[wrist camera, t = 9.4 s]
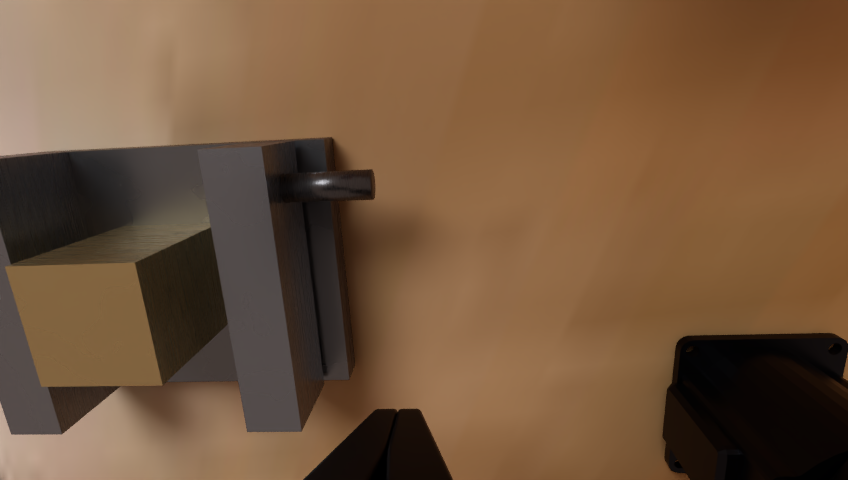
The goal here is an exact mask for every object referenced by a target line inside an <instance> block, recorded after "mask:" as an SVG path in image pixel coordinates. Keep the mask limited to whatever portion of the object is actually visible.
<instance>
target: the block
mask: <svg viewBox="0 0 848 480" xmlns="http://www.w3.org/2000/svg"><path fill="white" fill-rule="evenodd" d="M5 269H6V272H7V275H8V279H9V282H10V285H11V289H12V292H13V295H14V298H15V302H16V305H17V308H18V312H19V315H20V318H21V322H22V325H23V328H24V331H25V335H26V338H27V341H28V345H29V348H30V351H31V354H32V358H33V361H34V364H35V368H36V371H37V374H38V378H39V381H40V384H41V387H71V386H163V385H164V384H165V383H166V382H167V381H168V380H169V379H170V378H171V377H172V376H173V375H174V374H175V373H176V372H178V371H179V370H180V369H181V368H182V367H183V366H184V365H185V364H186V363H187V362H188V361H189V360H190V359H191V358H192V357H194V356H195V355H196V354H197V353H198V352H199V351H200V350H201V349H202V348H203V347H204V346H205V345H206V344H207V343H208V342H210V341H211V340H212V339H213V338H214V337H215V336H216V335H217V334H218V333H219V332H220V331H221V330H222V329H223V328H224V327H226V326H227V325H228V321H227V315H226V309H225V304H224V298H223V292H222V287H221V281H220V276H219V270H218V264H217V259H216V253H215V247H214V242H213V236H212V231H211V225H210V223H201V224H173V225H145V226H122V227H119V228H116V229H113V230H110V231H107V232H105V233H102V234H99V235H96V236H93V237H90V238H87V239H84V240H81V241H78V242H75V243H72V244H69V245H67V246H64V247H61V248H58V249H55V250H52V251H49V252H46V253H43V254H40V255H37V256H34V257H31V258H28V259H26V260H23V261H20V262H17V263H14V264H11V265H8V266H5Z"/></svg>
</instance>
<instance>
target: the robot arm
mask: <svg viewBox="0 0 848 480" xmlns="http://www.w3.org/2000/svg"><path fill="white" fill-rule="evenodd" d="M832 344H834V345H833V347H832V348H831V349H829V347H830V346H831V345H832ZM690 346H695V347H694V349H693V350H692V351H690V352H686V351H687V349H688V348H689V347H690ZM847 353H848V343H847V341H846V340H844V339H842V338H841V337H839V336H837V335H835V334H832V333H811V334H755V335H700V336H685V337H683V338H681V339H680V340H679V341H678V342H677V345H676V350H675V359H674V369H673V379H672V384H671V385H670V386H669V387H668V389H667V396H666V406H665V416H664V426H663V438H664V440H665V441H666V448H665V461H666V463H667V464H668V466H669V468H670V469H671V470H672V471H674V472H677V473H686V474H687V475H688V477H689V478H690V480H848V381H847V380H846V379H844V378H843V372H844V368H845V363H846V358H847ZM676 460H678V461H677V462H675V461H676ZM303 480H453V479H452V476H451V474H450V472H449V470H448V468H447V466H446V464H445V462H444V459H443V457H442V455H441V453H440V451H439V449H438V447H437V444H436V442H435V440H434V438H433V436H432V434H431V432H430V429H429V427H428V425H427V423H426V421H425V419H424V417H423V415H422V412H421V411H420V410H419V409H400V410H399V411H398V412H397V410H396V409H377V410H375V411H374V412H373V413H372V414H371V415H369V416H368V417H367V418H366V419H365V420H364V421H363V422H362V423H361V424H360V425H359V426H358V427H357V428H356V429H355V430H354V431H353V432H352V433H351V434H350V435H349V436H348V437H347V438H346V439H345V440H344V441H343V442H342V443H341V444H340V445H339V446H337V447H336V448H335V449H334V450H333V451H332V452H331V453H330V454H329V455H328V456H327V457H326V458H325V459H324V460H323V461H322V462H321V463H320V464H319V465H318V466H317V467H316V468H315V469H314V470H313V471H312V472H311V473H310V474H309V475H308V476H307V477H305V478H304V479H303Z"/></svg>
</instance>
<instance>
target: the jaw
mask: <svg viewBox="0 0 848 480" xmlns="http://www.w3.org/2000/svg"><path fill="white" fill-rule="evenodd" d="M197 152H198V157H199V163H200V169H201V174H202V180H203V185H204V191H205V197H206V202H207V208H208V214H209V219H210V225H211V231H212V236H213V242H214V247H215V253H216V259H217V264H218V270H219V276H220V281H221V287H222V292H223V298H224V304H225V309H226V315H227V321H228V326H229V332H230V338H231V343H232V349H233V354H234V360H235V366H236V371H237V377H238V383H239V388H240V394H241V400H242V405H243V411H244V416H245V422H246V428H247V432H302V430H303V428H304V425H305V423H306V421H307V419H308V417H309V415H310V413H311V411H312V409H313V407H314V404H315V402H316V400H317V398H318V396H319V394H320V392H321V390H322V388H323V385H324V378H323V370H322V362H321V354H320V346H319V337H318V329H317V321H316V313H315V305H314V297H313V288H312V280H311V272H310V264H309V256H308V248H307V239H306V231H305V223H304V215H303V207H302V202H324V201H349V200H374V198H375V177H374V173H373V170H372V169H371V170H349V171H327V172H305V173H298V166H297V158H296V150H295V141H279V142H259V143H240V144H233V145H226V146H219V147H212V148H205V149H198V150H197Z"/></svg>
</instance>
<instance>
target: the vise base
mask: <svg viewBox="0 0 848 480" xmlns="http://www.w3.org/2000/svg"><path fill="white" fill-rule="evenodd" d="M279 141H295V150H296V158H297V166H298V173H305V172H327V171H335V162H334V152H333V143H332V137H328V138H308V139H288V140H269V141H249V142H229V143H209V144H189V145H170V146H150V147H130V148H110V149H90V150H71V151H51V152H38V153H27V154H16V155H6V156H0V402H1V405H2V408H3V411H4V414H5V417H6V420H7V423H8V426H9V429H10V432H11V434H63V433H64V432H65V431H67V430H68V429H69V428H70V427H71V426H73V425H74V424H75V423H76V422H78V421H79V420H80V419H81V418H82V417H84V416H85V415H86V414H87V413H89V412H90V411H91V410H92V409H93V408H95V407H96V406H97V405H98V404H99V403H101V402H102V401H103V400H104V399H106V398H107V397H108V396H109V395H110V394H112V393H113V392H114V391H115V390H117V389H118V388H119V387H120V386H71V387H41V384H40V381H39V378H38V374H37V371H36V368H35V364H34V361H33V358H32V354H31V351H30V348H29V345H28V341H27V338H26V335H25V331H24V328H23V325H22V322H21V318H20V315H19V312H18V308H17V305H16V302H15V298H14V295H13V292H12V289H11V285H10V282H9V279H8V275H7V272H6V269H5V266H8V265H11V264H14V263H17V262H20V261H23V260H26V259H28V258H31V257H34V256H37V255H40V254H43V253H46V252H49V251H52V250H55V249H58V248H61V247H64V246H67V245H69V244H72V243H75V242H78V241H81V240H84V239H87V238H90V237H93V236H96V235H99V234H102V233H105V232H107V231H110V230H113V229H116V228H119V227H122V226H145V225H173V224H201V223H210V219H209V214H208V208H207V202H206V197H205V191H204V185H203V180H202V174H201V169H200V163H199V157H198V152H197V150H198V149H205V148H212V147H219V146H226V145H233V144H240V143H259V142H279ZM302 207H303V215H304V223H305V231H306V239H307V248H308V256H309V264H310V272H311V280H312V288H313V297H314V305H315V313H316V321H317V329H318V337H319V346H320V354H321V362H322V370H323V378H324V380H349V379H350V377H351V374H352V371H353V369H354V366H355V360H354V350H353V340H352V330H351V320H350V310H349V300H348V291H347V281H346V271H345V261H344V251H343V241H342V231H341V221H340V212H339V202H338V201H324V202H302ZM202 381H238V377H237V371H236V366H235V360H234V354H233V349H232V343H231V338H230V332H229V326H228V325H227V326H226V327H224V328H223V329H222V330H221V331H220V332H219V333H218V334H217V335H216V336H215V337H214V338H213V339H212V340H211V341H210V342H208V343H207V344H206V345H205V346H204V347H203V348H202V349H201V350H200V351H199V352H198V353H197V354H196V355H195V356H194V357H192V358H191V359H190V360H189V361H188V362H187V363H186V364H185V365H184V366H183V367H182V368H181V369H180V370H179V371H178V372H176V373H175V374H174V375H173V376H172V377H171V378H170V379H169V380H168V381H167V382H202Z"/></svg>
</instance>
